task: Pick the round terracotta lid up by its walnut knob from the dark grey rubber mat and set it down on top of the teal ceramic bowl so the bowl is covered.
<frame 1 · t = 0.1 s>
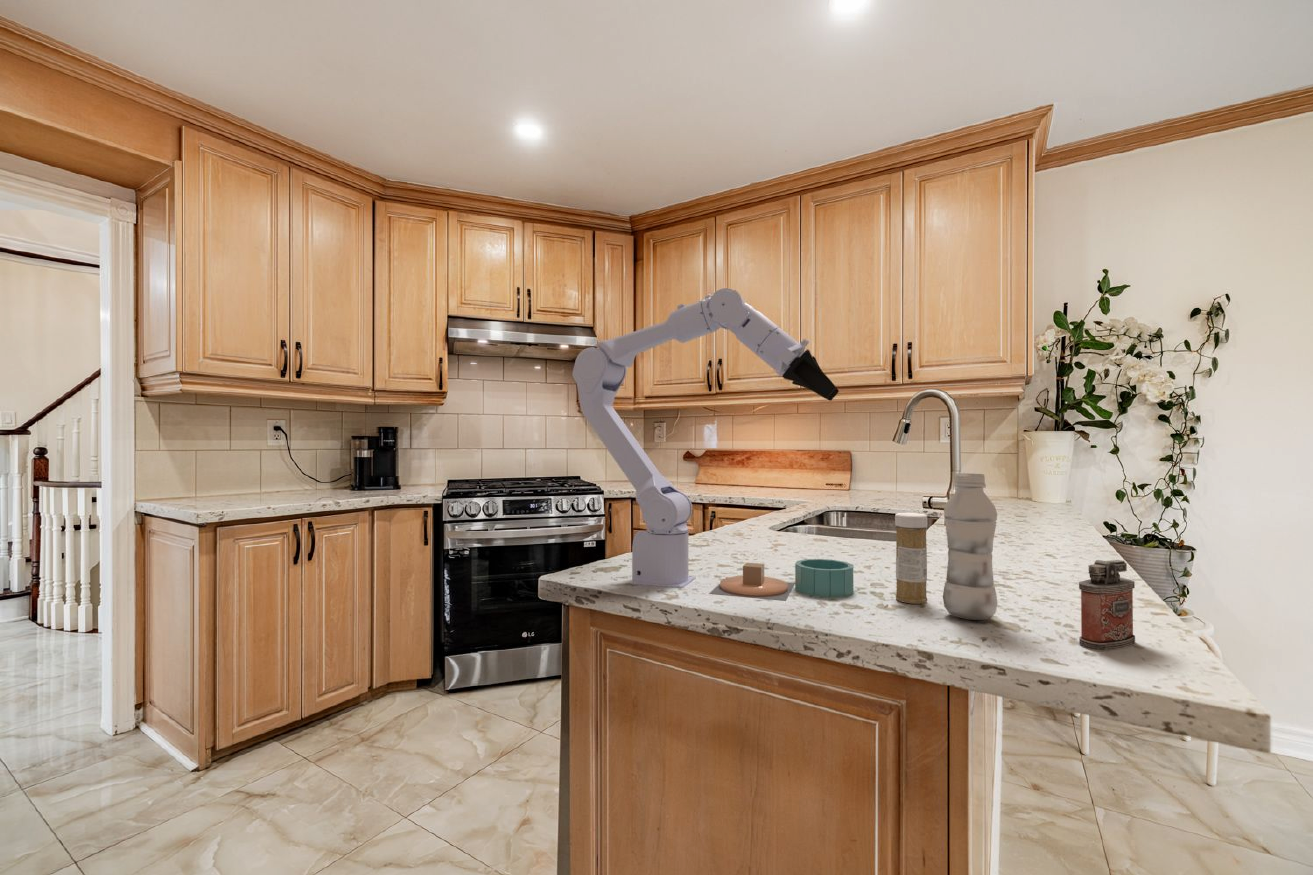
hand: (833, 394, 92), 32 cm above the counter, tool tilted 50°, fingers open, 7 cm apart
lighter: (1107, 645, 70), on the counter
sprinkles bottle: (911, 602, 90), on the counter
bowl: (824, 591, 95), on the counter
lid: (753, 587, 96), on the counter, touching mat
mat: (753, 590, 96), on the counter
plastic bottle: (969, 619, 81), on the counter
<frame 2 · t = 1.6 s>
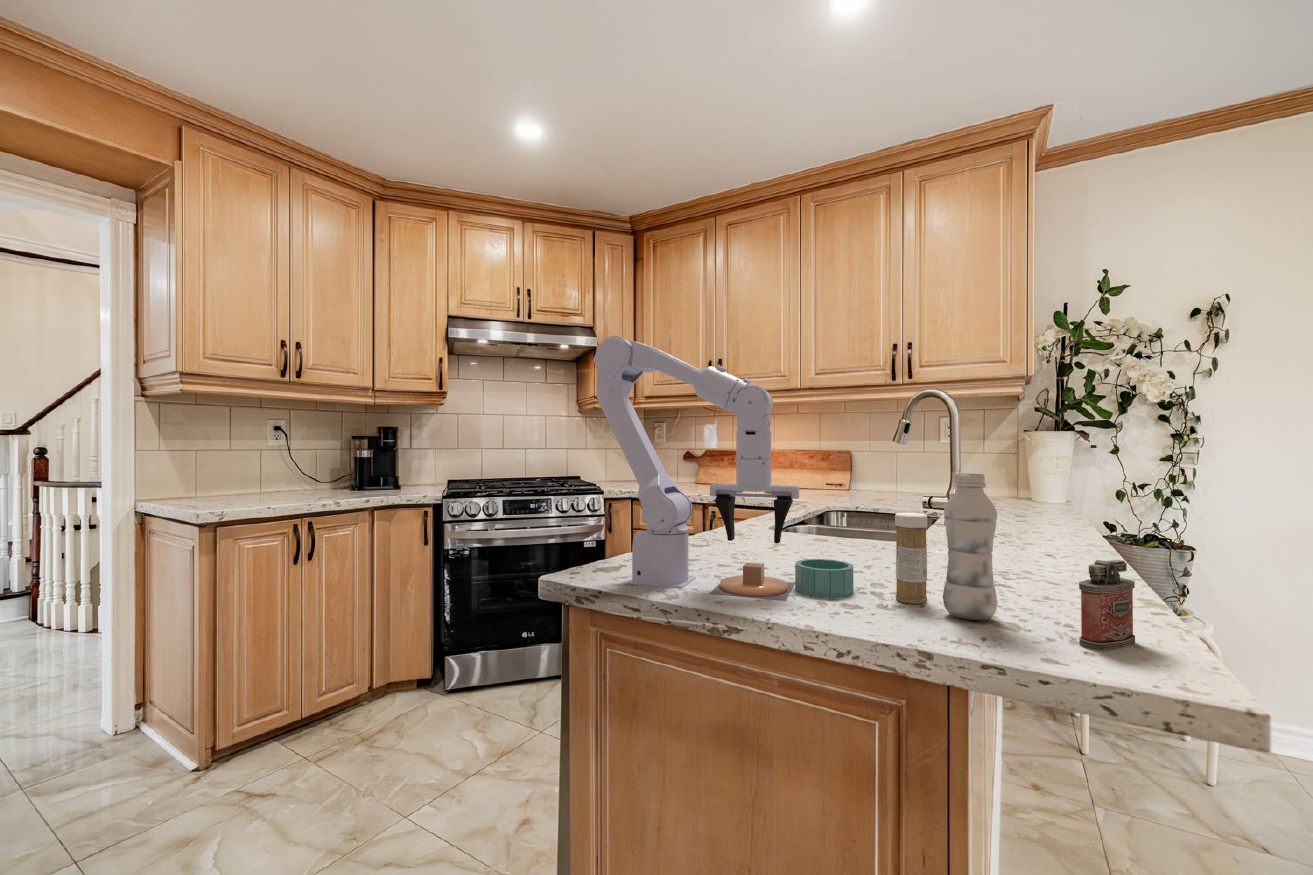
hand: (753, 541, 96), 8 cm above the counter, tool pointing down, fingers open, 7 cm apart
nothing on the counter moved.
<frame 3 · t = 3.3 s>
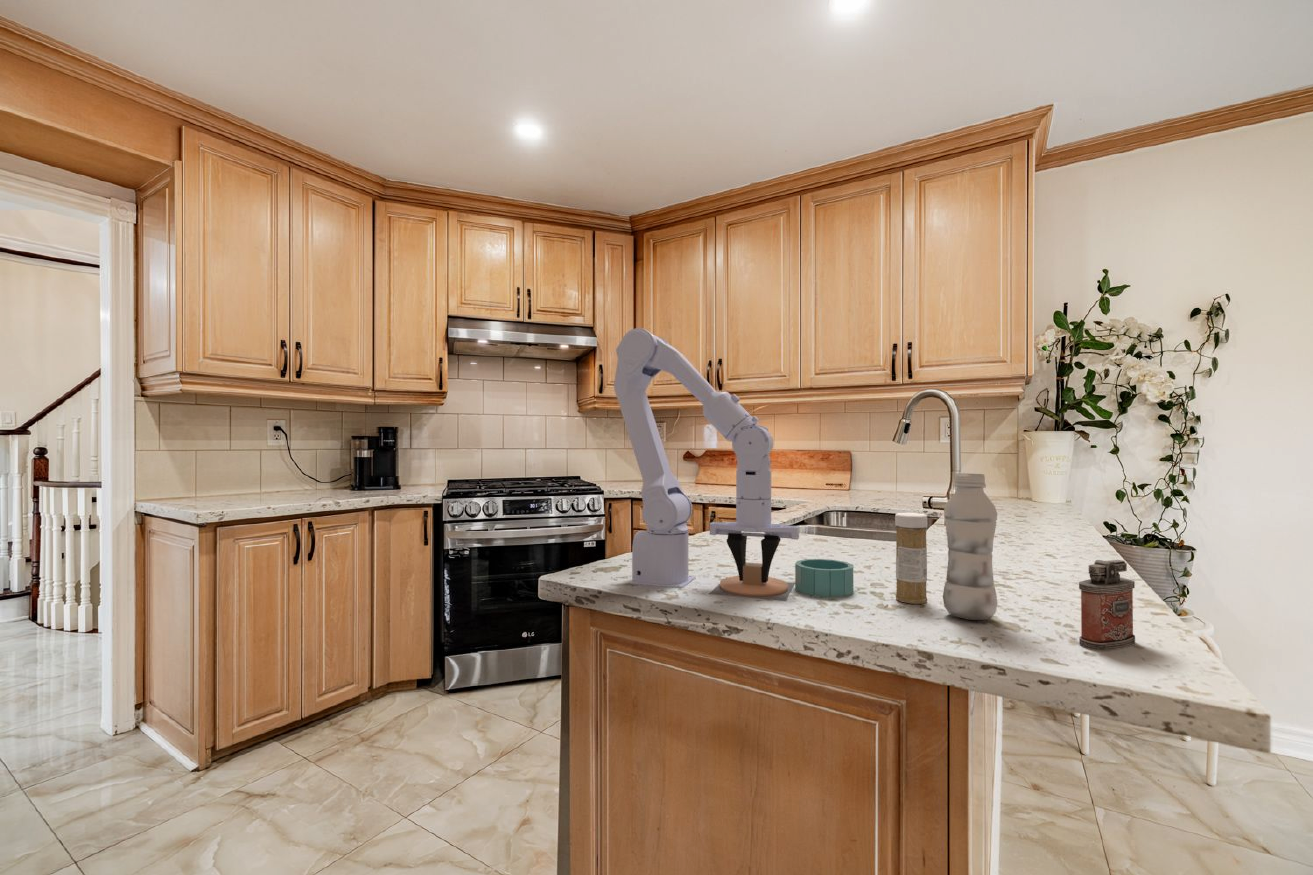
hand: (753, 580, 96), 2 cm above the counter, tool pointing down, fingers closed on lid, 3 cm apart
lid: (753, 587, 96), on the counter, touching gripper, mat
everything else where it was.
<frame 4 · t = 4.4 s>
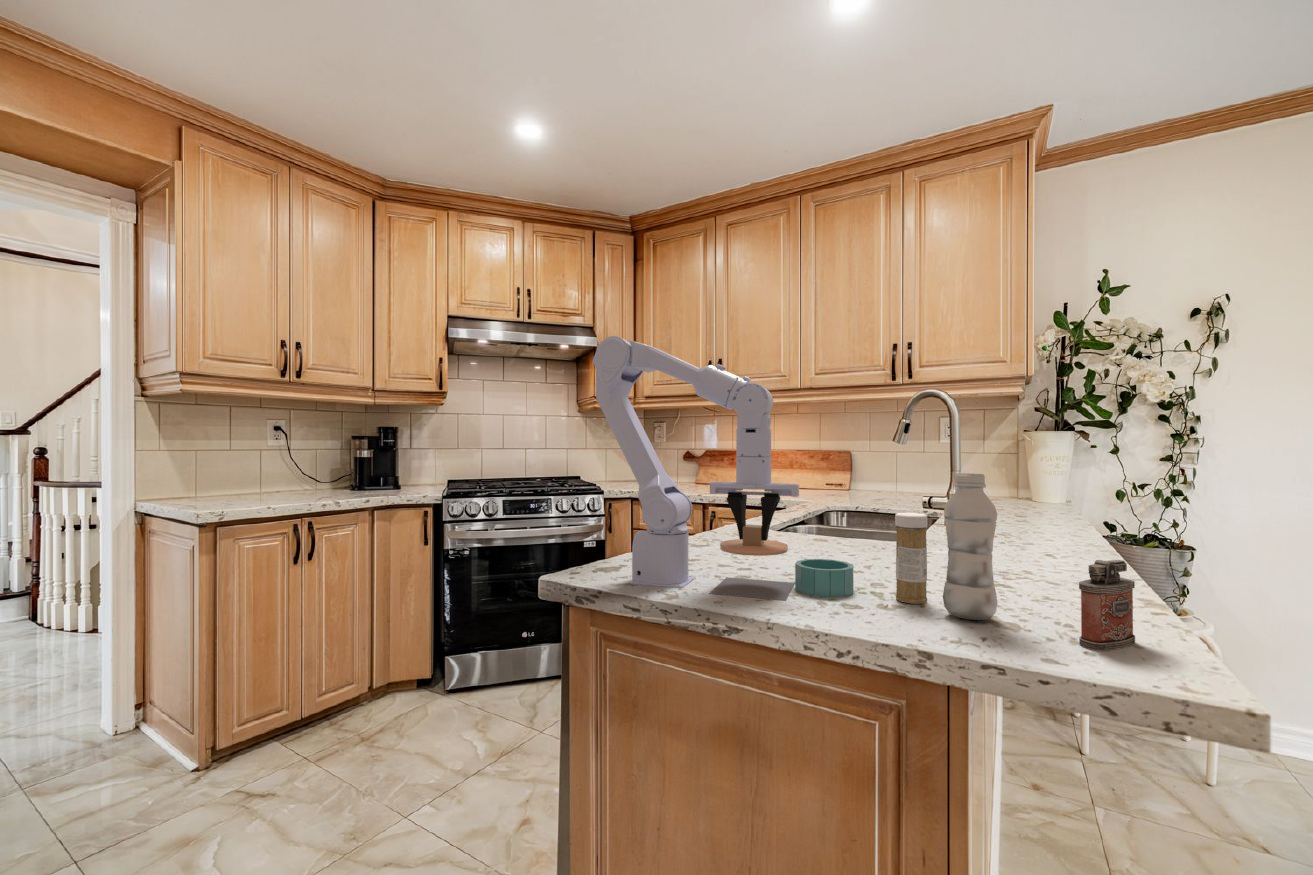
hand: (753, 539, 96), 8 cm above the counter, tool pointing down, fingers closed on lid, 3 cm apart
lid: (753, 549, 96), point 7 cm above the counter, touching gripper
everything else where it was.
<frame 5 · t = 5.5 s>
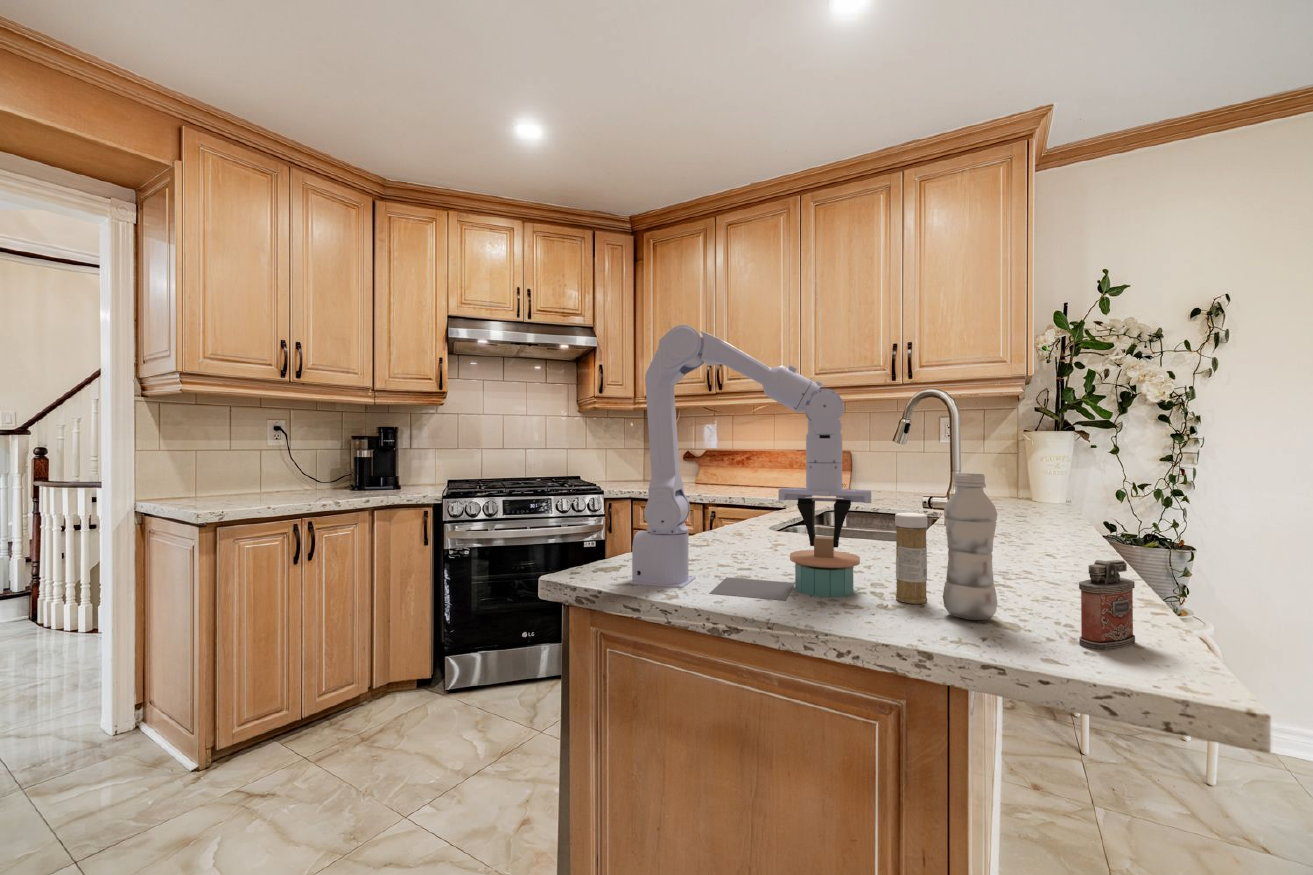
hand: (824, 545, 95), 7 cm above the counter, tool pointing down, fingers closed on lid, 3 cm apart
lid: (824, 560, 95), point 5 cm above the counter, touching gripper
everything else where it was.
when the fingers open (7 cm above the counter, at t = 5.9 s): lid stays where it is, resting on bowl.
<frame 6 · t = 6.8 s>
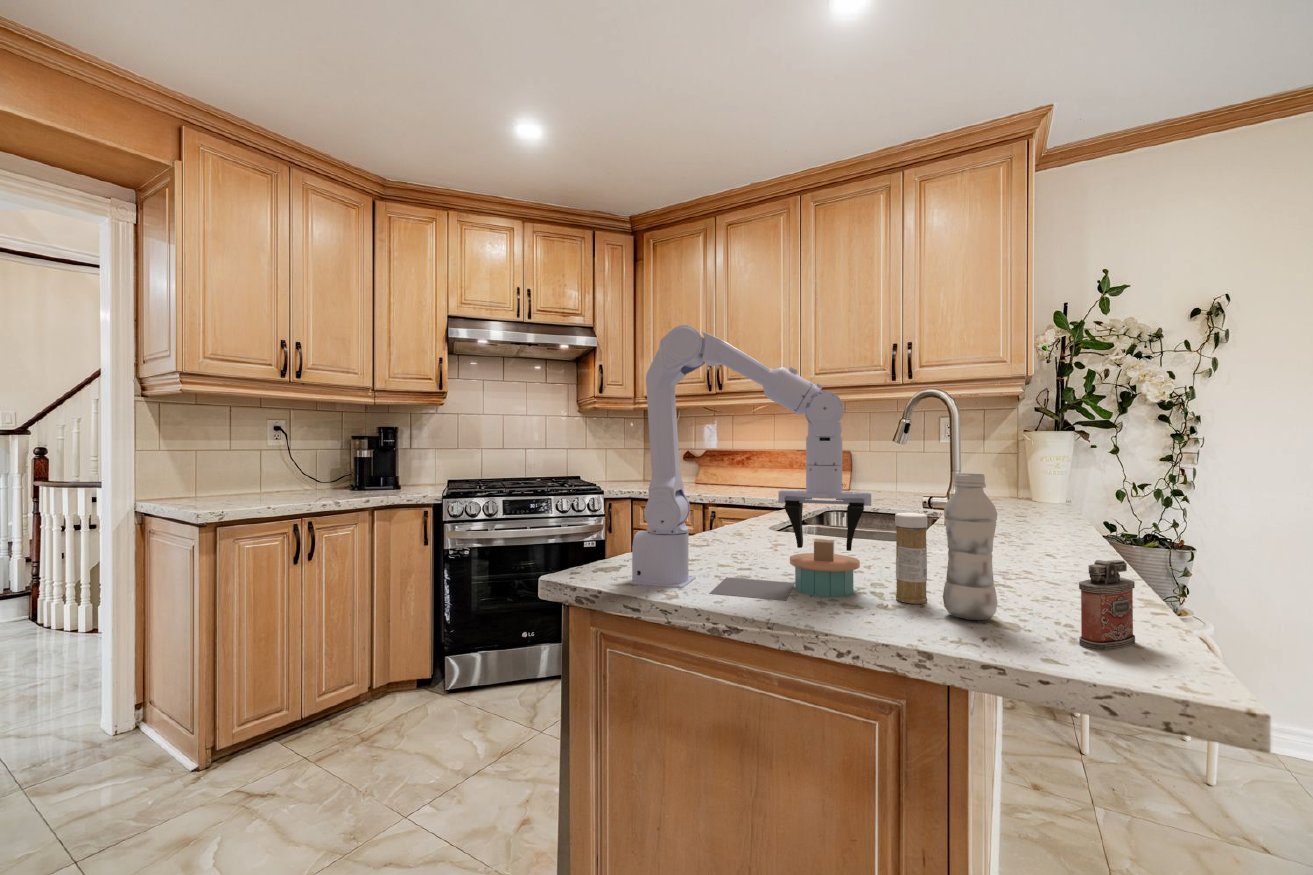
hand: (824, 548, 95), 7 cm above the counter, tool pointing down, fingers open, 7 cm apart
lid: (824, 564, 95), point 4 cm above the counter, touching bowl
everything else where it was.
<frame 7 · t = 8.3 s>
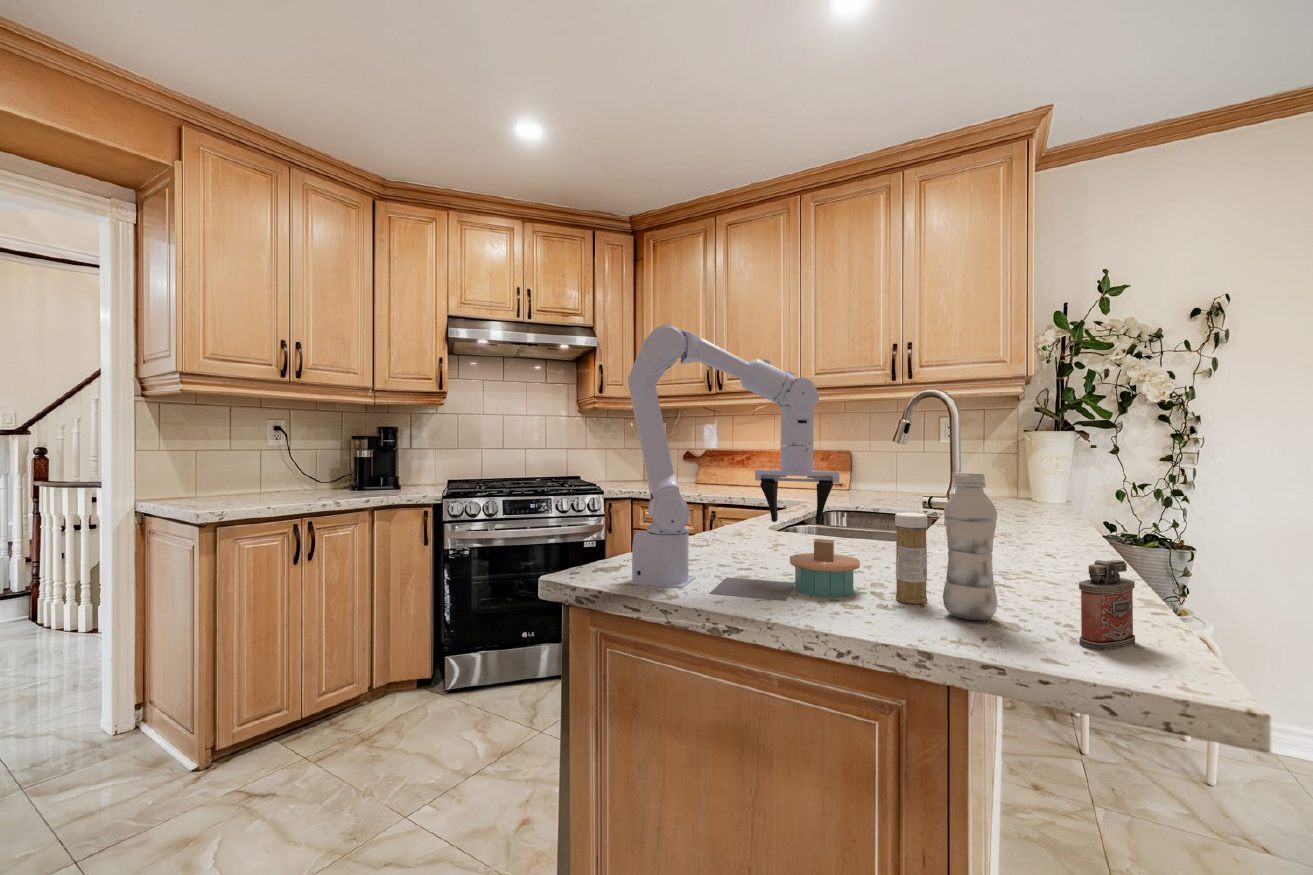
hand: (796, 522, 103), 10 cm above the counter, tool pointing down, fingers open, 7 cm apart
nothing on the counter moved.
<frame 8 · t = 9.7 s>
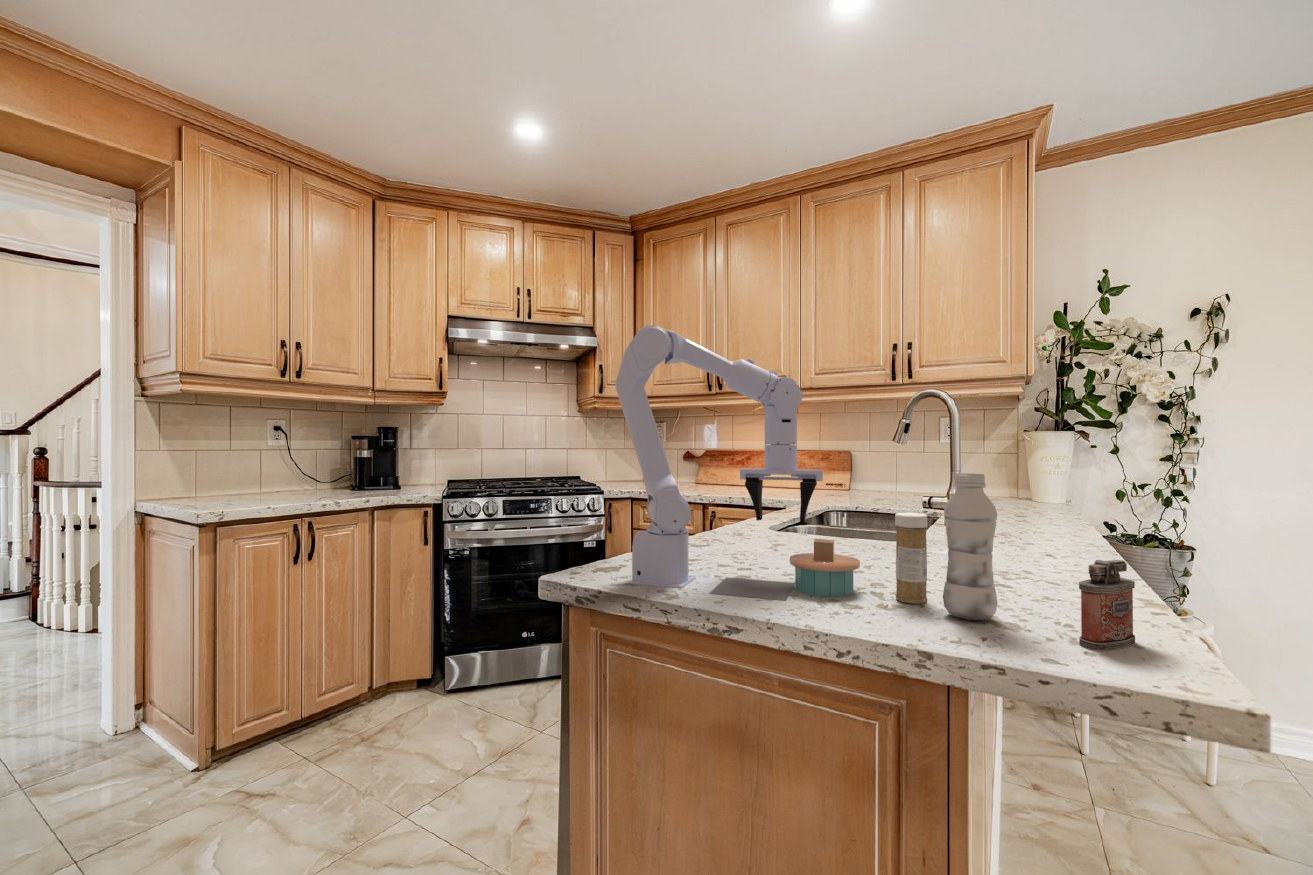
hand: (780, 520, 104), 10 cm above the counter, tool pointing down, fingers open, 7 cm apart
nothing on the counter moved.
at the end: lid 0.1 cm off-centre on the bowl, point 4.5 cm above the bowl's base; lid tilted 0°; the gripper is holding nothing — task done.
